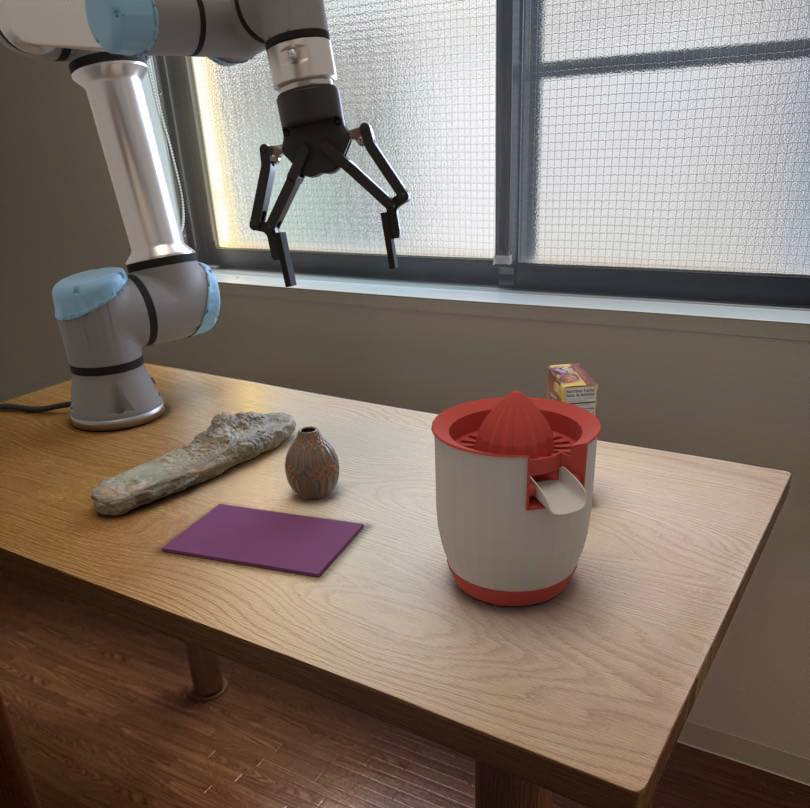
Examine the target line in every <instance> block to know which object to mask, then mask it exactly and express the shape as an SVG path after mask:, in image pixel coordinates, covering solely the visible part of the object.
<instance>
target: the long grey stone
mask: <svg viewBox="0 0 810 808" xmlns="http://www.w3.org/2000/svg"><path fill="white" fill-rule="evenodd" d="M210 423H211V425H210V426H208V427H207V428H206V429H205V430H203V431H201V432H199V433H198V434H196V435H195V436H194V438H193V440H192V441H190V443H188V444H186V445H183V446H182V447H180V448H176V449H172V450H169V451H168V452H166V453H163V454H161V455H158V456H157V457H156V456H155V457H154V458H152V459H150V460H149V461H146V462H143V463H140V464H138V465H136V466H134V467H132V468H130V469H127V470H123V471H121V472H120V473H118V474H116V475H114V476H112V477H108V478H105V479H101V480H99V483H98V484H97V485H96V486H95V487H94V488H93V490H92V491H91V493H90V498H91V500H92V501H93V502H92V503H93V507H94V510H95V511H96V512H97V514H101V515H103V516H107V517H108V516H111V517H117V516H120V515H125V514H126V513H128V512H130V511H131V510H133V509H136V508H138V507H140V506H142V505H147V504H150V503H153V502H154V501H156V500H158V499H162V498H166V497H167V496H169V495H171V494H176V493H179V492H183V491H185V490H186V489H187V488H188V487H190V486H196V485H197V484H199V483H200V484H201V483H204V482H206V481H207V480H209V479H214V478H215V477H217V476H221V475H222V474H223V473H224V472H225V471H227V470H228V469H230V468H232V467H234V466H236V465H238V464H241V463H244V462H249V461H250V460H252V459H254V458H256V457H258V456H259V455H260V454H261V453H265V452H266V451H270V450H273V449H276V448H278V446H280V445H281V443H282V441H284V440H286V439H287V438H290V436H291V435H292V434H294V432H295V431H296V427H297V423H296V420H295V418H294V416H293V415H291V414H290V413H285V412H269V413H261V412H256V411H247V412H244V411H239V412H237V413H235V414H228V415H227V413H226V412H221V413H219V414H216V415H214V416H213V417H212V419H211V421H210Z"/></svg>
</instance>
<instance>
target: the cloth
mask: <svg viewBox="0 0 810 808" xmlns="http://www.w3.org/2000/svg"><path fill="white" fill-rule="evenodd" d="M364 527H365V526H364V523H358V522H352V521H351V522H350V521H345V520H337V519H332V518H331V519H330V518H323V517H318V516H317V517H316V516H310V515H301V514H295V513H286V512H280V511H273V510H265V509H258V508H251V507H244V506H237V505H229V504H223V503H222V504H221V503H219V504H218V505H216V506H215V507H214V508H212V509H211V510H210V511H209V512H207V513H206V514H204V515H203V516H202V517H201V518H199V519H198V520H196V521H195V522H194V523H192V524H191V525H190V526H189V527H187V528H186V529H185V530H184V531H182V532H181V533H180V534H179V535H177V536H176V537H174V538H173V539H172V540H171V541H169V542H168V543H166V544H165V545H164V546H162V547H161V550H162V552H167V553H172V554H178V555H183V556H184V555H185V556H189V557H190V556H191V557H195V558H202V559H208V560H213V561H219V562H227V563H233V564H238V565H245V566H250V567H256V568H262V569H268V570H272V571H273V570H274V571H280V572H285V573H292V574H298V575H304V576H309V577H315V578H319V577H320V576H321V575H322V574H323V573H324V572H325V571H326V569H328V567H329V566H330V565H331V564H332V563H333V562H334V561H335V560H336V558H337V557H338V556H339V555H340V554H341V553H342V552H343V551H344V550H345V548H346V547H347V546H348V545H349V544H350V543H351V542H352V541H353V539H354V538H355V537H356V536H357V535H358V534H359V533H360V532H361V530H363V528H364Z"/></svg>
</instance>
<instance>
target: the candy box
mask: <svg viewBox="0 0 810 808" xmlns="http://www.w3.org/2000/svg"><path fill="white" fill-rule="evenodd" d="M598 393H599V384H598V383H597V382H595V380H594V379H593V378H592V377H591V376H590V375H589V373H587V371H586V370H585V369H584V368H583V367H582V365H581V364H580V363H563V364H561V363H560V364H552V365H548V366H547V399H551V400H556V401H562V402H565V403H569V404H573V405H576V406H578V407H581V408H583V409H586V410H587V411H589V412H591V413H592V414H594V415H595V416H596V417H597V412H598V411H597V410H598V395H599V394H598Z"/></svg>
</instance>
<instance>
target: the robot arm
mask: <svg viewBox="0 0 810 808" xmlns="http://www.w3.org/2000/svg"><path fill="white" fill-rule="evenodd" d="M0 43H1V44H2V45H3V46H5V48H7V49H9V50H11V52H14V53H16V54H18V55H20V56H23V57H26V58H29V59H33V60H38V61H44V62H45V61H47V62H63V63H64V62H65V63H67V66H68V69H69V73H70V76H71V79H72V81H73V82H74V83H76V84H78V86H80V87H82V88H83V89H84V90H85V92H86V95H87V100H88V102H89V107H90V110H91V113H92V117H93V120H94V124H95V127H96V132H97V134H98V139H99V141H100V145H101V147H102V152H103V155H104V159H105V162H106V166H107V169H108V172H109V176H110V179H111V184H112V187H113V190H114V193H115V197H116V201H117V205H118V208H119V212H120V216H121V219H122V222H123V226H124V229H125V233H126V236H127V240H128V243H129V247H130V250H131V252H130V255H129V256H128V258H127V259H126V262H125V266H126V270H127V272H126V271H125V269H124V268H122V267H119V266H106V267H105V266H104V267H101V268H97V269H96V268H93V269H88V270H84V271H81V272H77V273H74V274H71V275H69V276H66V277H64V278H62V279H60V280H58V282H56V283H55V284H54V286H53V288H52V291H51V297H52V302H53V307H54V317H55V319H56V321H57V325H58V328H59V332H60V336H61V339H62V343H63V348H64V351H65V354H66V359H67V362H68V365H69V370H70V375H71V387H70V400H69V401H64V402H57V403H52V404H47V405H38V406H37V405H27V404H19V403H4V402H2V403H1V402H0V410H15V411H20V412H22V411H23V412H30V413H45V412H51V411H55V410H61V409H68V408H69V417H70V421H71V424H72V426H73V427H75V428H77V429H80V430H84V431H92V432H106V431H118V430H123V429H129V428H134V427H139V426H141V425H145V424H147V423H150V422H152V421H154V420H156V419H158V418H159V417H161V416H162V415H163V414H164V413H165V411H166V406H165V402H164V399H163V396H162V395H161V393H160V392H159V391H158V390H157V388H156V385H157V383H156V381H155V379H154V378H153V377H152V376H151V375H150V374H149V372H148V369H147V367H146V365H145V360H144V356H143V355H144V354H143V350H142V349H143V348H146V347H150V346H155V345H159V344H164V343H167V342H172V341H177V340H181V339H189V338H193V337H195V336H197V335H201V334H204V333H206V332H207V333H208V332H209V331H210V330H211V329H212V328H214V326H215V325H216V323H217V321H218V317H219V316H220V311H221V292H220V287H219V286H220V285H219V283H218V279H217V277H216V275H215V273H213V270H212V268H211V267H210V265H209V266H208V264H206V263H204V262H201V261H198V258H197V257H198V256H197V253H196V251H195V250H194V249H193V248H192V247H190V246H189V245H187V244H186V243H185V242H184V238H183V235H182V231H181V227H180V224H179V220H178V216H177V213H176V209H175V205H174V200H173V197H172V193H171V189H170V186H169V181H168V178H167V174H166V171H165V167H164V163H163V159H162V155H161V151H160V147H159V143H158V140H157V135H156V132H155V128H154V125H153V120H152V117H151V112H150V109H149V106H148V102H147V98H146V93H145V90H144V86H143V81H144V78H145V76H146V75H147V74H148V72H149V67H148V63H147V62H148V61H149V60H150V59H151V57H192V58H193V57H194V58H197V57H198V58H207V59H208V60H211V61H212V62H214V63H215V64H217V65H218V66H221V67H226V68H227V67H234V66H236V65H240V64H241V65H242V64H245V63H247V62H249V60H252V59H254V58H255V57H256V56H257V55H259V54H261V53H263V52H264V51H265V52H266V56H267V57H266V58H267V61H268V66H269V71H270V75H271V80H272V86H273V89H274V91H276V92H277V93H278V95H277V96H276V99H275V101H276V102H275V103H276V106H277V111H278V116H279V121H280V126H281V131H282V136H283V137H282V144H271V145H270V144H267V143H262V144H260V145H259V159H260V170H259V175H258V179H257V185H256V189H255V195H254V199H253V204H252V208H251V216H250V219H249V228H250V230H252V231H254V232H255V231H256V232H261V233H264V234H265V236H266V238H267V243H268V247H269V251H270V256H271V259H272V260H273V261H274V262H275V261H279V263H280V268H281V272H282V276H283V277H282V278H283V281H284V282H283V283H284V286H285V288H290V287H294V286H297V280H296V279H297V278H296V274H295V270H294V266H293V265H294V264H293V261H292V256H291V251H290V246H289V242H288V237H287V232H286V231H281V230H280V228H281V226H282V224H283V222H284V220H285V218H286V216H287V214H288V212H289V210H290V208H291V206H292V203H293V201H294V199H295V197H296V195H297V192H298V191H299V189H300V187H301V185H302V184H303V182H304V180H305V178H306V177H308V178H312V179H314V178H319V177H320V176H324V174H325V175H335V174H337V173H338V172H339V171H340V170H341V169H342V171H344V172H345V173H346V174H347V175H349V176H350V177H351V178H352V179H353V180H354V181H355V182H356V183H357V184H359V186H361V187H362V188H363V189H364V190H365V191H366V192H367V193H368V194H370V196H372V197H373V198H374V199H375V200H376V202H378V203H379V204H380V205H382V207H383V208H384V209H385V210H386V211H384V212H380V214H379V215H380V219H381V227H382V231H383V237H384V244H385V249H386V255H387V262H388V268H389V270H393V269H398V268H399V262H398V256H397V255H398V254H397V250H396V249H397V248H396V243H395V240H396V239H400V238H401V237H402V227H401V221H400V214H399V210H400V208H401V207H402V206H404V205H405V204H407V203H409V202H410V201H411V199H412V195H411V193H410V192H409V190H408V189H407V186H405V184H404V183H403V181H402V179H401V178H400V177H399V175H398V174H397V172H396V171H395V169H394V168H393V166H392V164H391V163H390V161H389V160H388V159H387V157H386V156H385V154H384V153H383V152H384V151H382V150H381V147H379V144H378V143H377V140H376V136H375V131H374V129H373V126H371V124H369V123H368V122H362V123H361V124H360V125H359V126H358V127H355V128H351V129H348V127H347V125H346V121H345V116H344V110H343V105H342V97H341V94H340V93H341V92H340V88H339V87H338V86H337V85H336V84H334V83H335V81H336V80H337V79H338V74H337V69H336V64H335V58H334V51H333V47H332V41H331V38H330V30H329V26H328V19H327V12H326V7H325V1H324V0H0ZM353 141H356V143H357V145H358V146H360V147H364V148H365V150H366V152H367V154H369V156H370V158H371V159H372V161H373V162H374V164H375V166H376V167H377V168H378V170H379V172H380V174H382V176H383V178H384V179H385V180H386V181H387V184H388V185H389V186H390V188H391V189H392V191H393V192H394V194H395V195H394V196H393V197H391V195H390V194H389V193H388V192H387V191H385V190H384V189H383V188H382V187H381V186H380V185H379V184H377V182H376V181H374V180H373V179H372V178H371V177H370V176H369V175H368V174H367V173H366V172H365V171H363V170H362V169H361V168H360V167H359V166H358V165H357V164H356V163H355V162H354V161H353V160H352V159H351V158H350V157H348V155H347V154H348V152H349V150H350V148H351V145H352V142H353ZM282 156H284V157H286V159H287V160H288V161H289V162H290V163H291V166H290V168H289V169H288V172H287V174H286V178H285V181H284V183H283V186H282V187H281V190H280V191H279V194H278V196H277V198H276V200H275V203H274V205H273V207H272V208H271V211H270V212H269V215H268V211H269V207H270V201H271V196H272V193H273V192H272V190H273V187H274V182H275V177H276V171H277V165H279V164H280V162H281V158H282ZM267 216H268V218H267Z"/></svg>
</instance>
